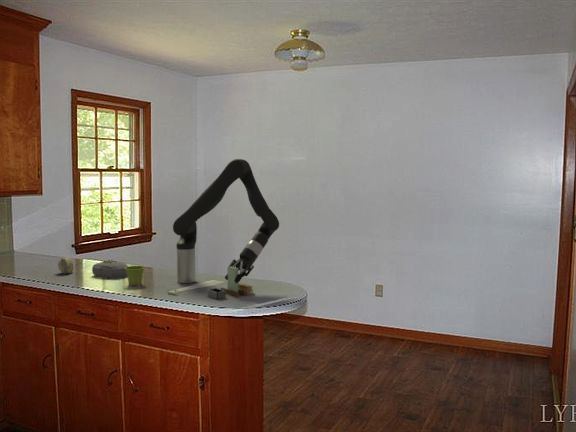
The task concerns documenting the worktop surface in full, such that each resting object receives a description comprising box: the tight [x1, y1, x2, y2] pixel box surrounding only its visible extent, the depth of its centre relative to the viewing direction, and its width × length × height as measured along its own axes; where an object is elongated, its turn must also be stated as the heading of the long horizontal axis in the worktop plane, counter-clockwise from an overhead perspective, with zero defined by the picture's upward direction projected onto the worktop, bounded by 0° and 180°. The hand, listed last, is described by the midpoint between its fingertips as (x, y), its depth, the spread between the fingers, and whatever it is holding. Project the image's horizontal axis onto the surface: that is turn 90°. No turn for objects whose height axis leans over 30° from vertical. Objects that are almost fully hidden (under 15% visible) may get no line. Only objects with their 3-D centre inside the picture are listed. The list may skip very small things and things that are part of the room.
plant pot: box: [125, 265, 145, 287], centre depth 258 cm, size 9×9×9 cm
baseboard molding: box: [167, 279, 227, 297], centre depth 249 cm, size 31×3×12 cm
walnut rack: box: [220, 286, 256, 299], centre depth 236 cm, size 10×14×3 cm
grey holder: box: [206, 287, 227, 300], centre depth 228 cm, size 5×8×4 cm, turn 42°
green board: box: [227, 266, 239, 292], centre depth 234 cm, size 2×6×12 cm, turn 41°
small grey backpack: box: [91, 259, 129, 279], centre depth 280 cm, size 15×8×20 cm
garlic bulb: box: [57, 256, 75, 275], centre depth 287 cm, size 9×8×10 cm
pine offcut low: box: [241, 289, 254, 296], centre depth 237 cm, size 4×12×2 cm, turn 42°
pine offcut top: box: [238, 281, 253, 291], centre depth 237 cm, size 3×10×2 cm, turn 42°
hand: (231, 280), depth 233 cm, fingers open, 7 cm apart
